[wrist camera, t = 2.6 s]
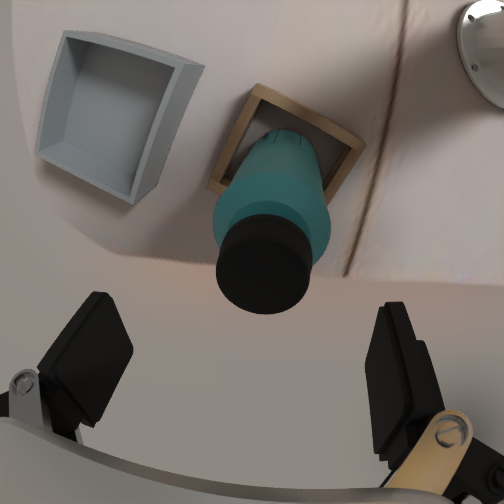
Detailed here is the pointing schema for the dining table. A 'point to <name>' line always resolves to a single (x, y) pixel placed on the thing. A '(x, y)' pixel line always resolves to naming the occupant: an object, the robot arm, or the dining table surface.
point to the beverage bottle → (271, 225)
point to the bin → (113, 111)
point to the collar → (260, 92)
